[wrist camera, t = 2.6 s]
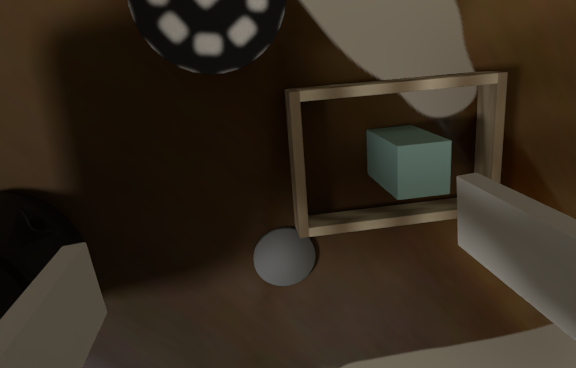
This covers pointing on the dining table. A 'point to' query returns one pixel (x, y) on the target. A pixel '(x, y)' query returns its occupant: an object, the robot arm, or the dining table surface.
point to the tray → (486, 164)
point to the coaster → (283, 256)
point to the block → (409, 161)
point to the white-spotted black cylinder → (208, 31)
